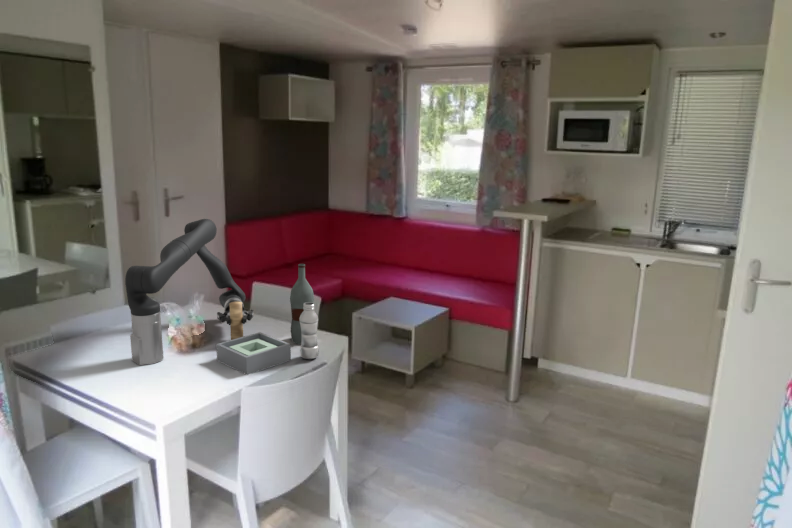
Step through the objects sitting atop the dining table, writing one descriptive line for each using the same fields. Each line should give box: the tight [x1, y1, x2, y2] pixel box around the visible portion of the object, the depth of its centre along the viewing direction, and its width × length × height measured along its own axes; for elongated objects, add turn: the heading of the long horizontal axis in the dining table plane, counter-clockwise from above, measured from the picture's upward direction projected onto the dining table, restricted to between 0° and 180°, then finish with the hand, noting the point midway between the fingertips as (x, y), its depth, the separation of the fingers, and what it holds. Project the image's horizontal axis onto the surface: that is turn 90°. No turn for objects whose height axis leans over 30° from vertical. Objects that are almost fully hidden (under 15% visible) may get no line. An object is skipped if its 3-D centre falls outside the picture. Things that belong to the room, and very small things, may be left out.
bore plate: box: [229, 339, 278, 356], centre depth 198 cm, size 12×12×4 cm
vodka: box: [289, 263, 315, 345], centre depth 216 cm, size 9×9×30 cm
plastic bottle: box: [299, 302, 320, 360], centre depth 199 cm, size 6×7×20 cm
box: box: [215, 331, 292, 376], centre depth 198 cm, size 18×18×6 cm
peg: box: [229, 302, 244, 340], centre depth 212 cm, size 4×4×16 cm
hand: (236, 321), depth 209 cm, fingers closed on peg, 4 cm apart
